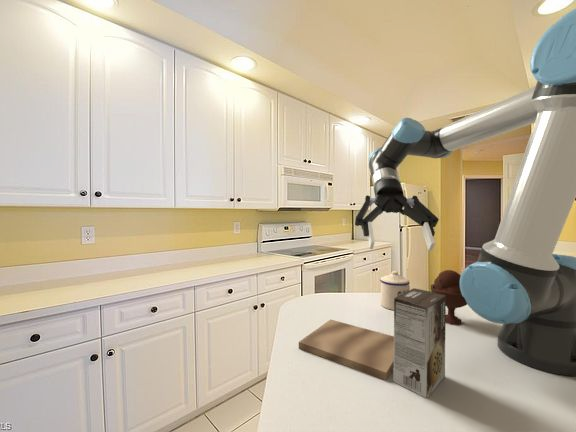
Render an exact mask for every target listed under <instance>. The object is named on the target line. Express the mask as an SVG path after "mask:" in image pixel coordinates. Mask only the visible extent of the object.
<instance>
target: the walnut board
mask: <svg viewBox="0 0 576 432" xmlns="http://www.w3.org/2000/svg"><path fill="white" fill-rule="evenodd" d="M298 349H300V350H303V351H306V352H307V353H311V354H313V355H316V356H319V357H322V358H324V359H326V360H329V361H332V362H335V363H338V364H340V365H343V366H345V367H346V366H347V367H348V368H352V369H354V370H357V371H360V372H363V373H365V374H368V375H370V376H373V377H376V378H379V379H382V380H384V381H387V380H388V378H389V377H390V375H391V373H392V371H394V335H390V334H385V333H382V332H379V331H375V330H371V329H367V328H364V327H360V326H356V325H354V324H349V323H346V322H345V323H344V322H341V321H339V320H333V319H329V320H327V321H326V322H325V323H324V324H322V325H320V326H319V327H318V328H317V329H315V330H313V331H312V332H310V333H309V334H308V335H306V336H304V338H302V339H300V340H299V341H298Z"/></svg>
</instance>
